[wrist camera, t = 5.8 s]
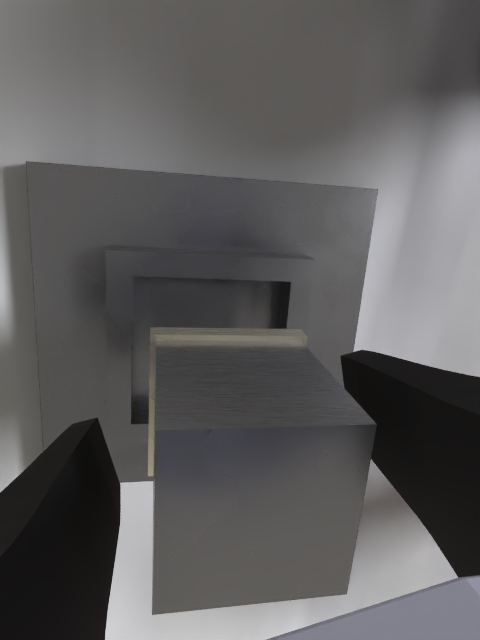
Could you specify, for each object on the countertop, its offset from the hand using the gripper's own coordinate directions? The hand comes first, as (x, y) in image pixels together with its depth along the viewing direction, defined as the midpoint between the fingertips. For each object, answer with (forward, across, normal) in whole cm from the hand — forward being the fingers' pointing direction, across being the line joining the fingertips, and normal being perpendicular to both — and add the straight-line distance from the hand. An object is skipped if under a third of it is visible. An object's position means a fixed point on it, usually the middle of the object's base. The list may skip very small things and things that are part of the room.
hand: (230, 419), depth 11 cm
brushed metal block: (+2, 0, 0) cm, 2 cm away
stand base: (+7, 0, 0) cm, 7 cm away
